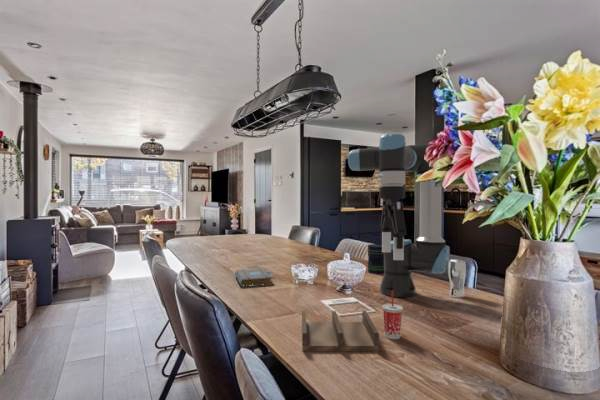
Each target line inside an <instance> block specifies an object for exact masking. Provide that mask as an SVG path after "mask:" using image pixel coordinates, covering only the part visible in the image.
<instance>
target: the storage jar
mask: <svg viewBox="0 0 600 400" xmlns="http://www.w3.org/2000/svg"><path fill="white" fill-rule="evenodd" d="M367 257H368V258H367V273H369V274H372V273H373V275H384V274H383V273H384V252H382V244H378V243H377V244H376V243H375V244H374V243H373V244H372V243H371V244H368V245H367Z"/></svg>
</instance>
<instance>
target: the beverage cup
mask: <svg viewBox="0 0 600 400" xmlns="http://www.w3.org/2000/svg"><path fill="white" fill-rule="evenodd" d="M381 308H382V312H383V313H382V314H383V327H384V328H383V330H384V331H383V332H384V337H385V338H387V339H389V340H399V339H400V338H401V333H402V332H401V330H402V316H403V311H404V309H403V308H404V307H403V306H402V305H400V304H398V303H397V304H396V303H394V297H393V290H392V296H391V303H384V304H382V306H381Z"/></svg>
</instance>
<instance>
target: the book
mask: <svg viewBox="0 0 600 400" xmlns="http://www.w3.org/2000/svg"><path fill="white" fill-rule="evenodd" d="M234 275H235V276H236V279H237V281H238V283H239V285H240V287H242V286H243V285H244V286H246V285H248V286H249V285H252V284H253V285H262V284H274V282H273V281H272V279H274V278H275V277H274V276H273V275H272V274H271V271H269V270H267V269H266V268H264V267H263V268H262V267H261V268H250V269H243V268H242V269H236V271H235V272H234Z"/></svg>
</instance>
